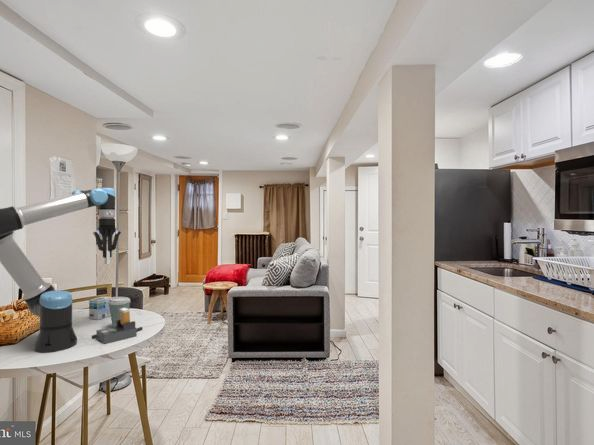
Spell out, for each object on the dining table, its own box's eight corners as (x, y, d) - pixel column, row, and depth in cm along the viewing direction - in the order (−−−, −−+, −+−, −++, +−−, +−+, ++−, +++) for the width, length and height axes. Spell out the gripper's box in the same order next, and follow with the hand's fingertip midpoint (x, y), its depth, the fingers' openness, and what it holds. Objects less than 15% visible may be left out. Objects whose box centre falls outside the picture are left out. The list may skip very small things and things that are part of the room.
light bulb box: (98, 320, 197) (98, 300, 197) (88, 319, 199) (88, 299, 199) (113, 315, 208) (113, 296, 208) (103, 314, 209) (103, 296, 209)
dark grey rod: (92, 338, 165) (92, 335, 165) (91, 338, 166) (91, 335, 166) (134, 329, 179) (134, 326, 179) (132, 329, 180) (132, 326, 180)
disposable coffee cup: (132, 323, 190) (132, 295, 190) (128, 329, 180) (128, 299, 180) (111, 324, 188) (110, 296, 188) (105, 330, 177) (105, 300, 177)
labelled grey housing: (104, 344, 158) (104, 328, 158) (96, 339, 165) (96, 323, 165) (136, 336, 168) (136, 321, 168) (127, 332, 175) (127, 317, 175)
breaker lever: (125, 328, 167) (124, 310, 166) (120, 326, 170) (119, 308, 170) (130, 327, 169) (129, 309, 168) (125, 324, 172) (124, 307, 172)
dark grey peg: (134, 332, 174) (134, 329, 174) (132, 332, 175) (132, 329, 175) (142, 329, 179) (142, 327, 179) (140, 329, 179) (140, 326, 179)
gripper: (96, 217, 177) (96, 265, 177) (123, 218, 187) (123, 263, 187) (90, 218, 182) (90, 264, 182) (117, 218, 192) (117, 262, 192)
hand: (107, 263), depth 184 cm, fingers closed
